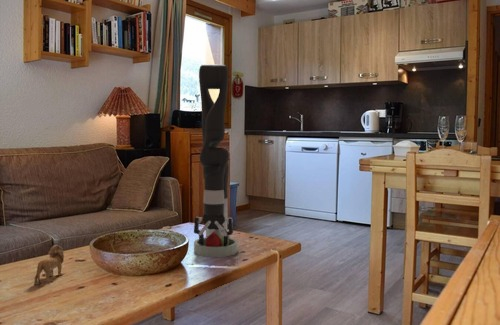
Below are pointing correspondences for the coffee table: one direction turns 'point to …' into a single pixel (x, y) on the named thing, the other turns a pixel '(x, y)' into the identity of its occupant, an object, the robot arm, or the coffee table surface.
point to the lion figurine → (50, 264)
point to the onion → (213, 240)
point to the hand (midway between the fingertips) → (213, 245)
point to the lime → (223, 241)
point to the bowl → (216, 249)
